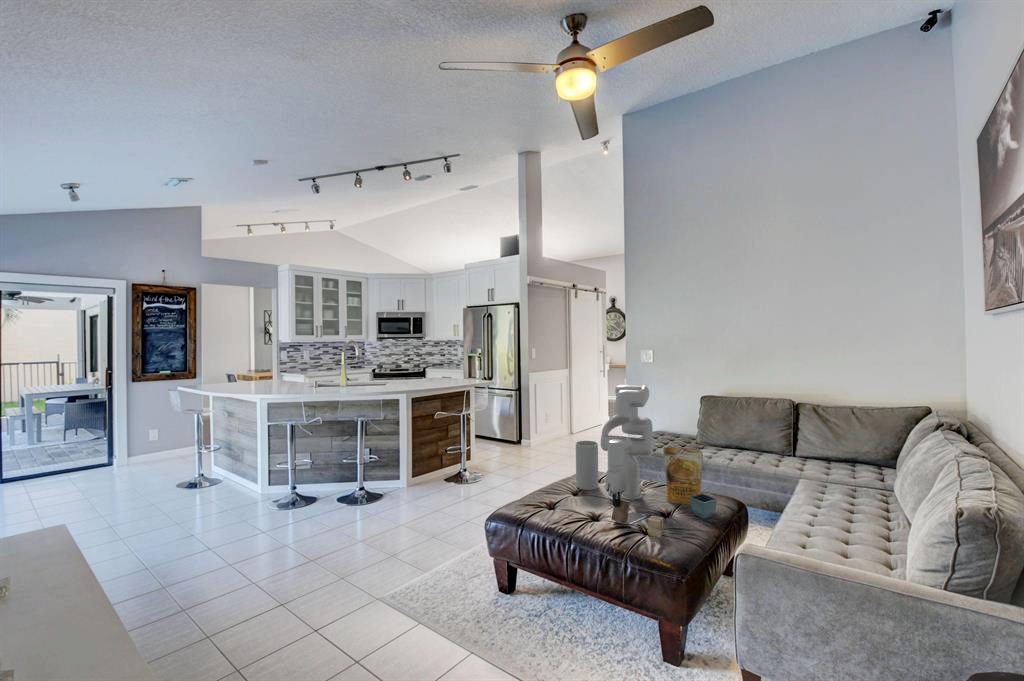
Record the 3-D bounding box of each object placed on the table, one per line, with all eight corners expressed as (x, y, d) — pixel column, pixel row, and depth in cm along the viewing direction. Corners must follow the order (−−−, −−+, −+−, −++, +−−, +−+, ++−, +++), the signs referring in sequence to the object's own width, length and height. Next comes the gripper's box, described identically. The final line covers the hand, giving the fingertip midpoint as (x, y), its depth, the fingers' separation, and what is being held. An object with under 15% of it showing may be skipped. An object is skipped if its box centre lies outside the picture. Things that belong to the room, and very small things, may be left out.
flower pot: (704, 521, 225) (704, 502, 224) (689, 515, 233) (689, 496, 232) (717, 517, 229) (717, 499, 228) (702, 511, 237) (702, 493, 236)
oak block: (652, 530, 216) (652, 515, 216) (663, 533, 213) (663, 517, 213) (648, 535, 212) (648, 519, 212) (659, 537, 209) (659, 521, 209)
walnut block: (617, 520, 228) (621, 498, 230) (626, 523, 224) (630, 501, 226) (611, 519, 225) (615, 498, 227) (619, 523, 221) (624, 500, 223)
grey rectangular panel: (631, 511, 238) (631, 511, 238) (646, 517, 231) (646, 516, 231) (614, 518, 230) (614, 518, 230) (630, 524, 223) (630, 524, 223)
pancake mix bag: (664, 498, 255) (663, 445, 254) (702, 502, 248) (702, 448, 247) (663, 502, 249) (662, 448, 248) (703, 506, 242) (702, 451, 241)
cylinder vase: (580, 491, 268) (579, 446, 267) (573, 484, 280) (572, 441, 279) (601, 489, 270) (601, 445, 269) (593, 482, 282) (593, 439, 281)
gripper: (619, 462, 231) (620, 499, 231) (599, 468, 221) (599, 508, 222) (632, 465, 225) (633, 504, 225) (612, 472, 215) (612, 513, 216)
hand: (616, 506), depth 224 cm, fingers closed
